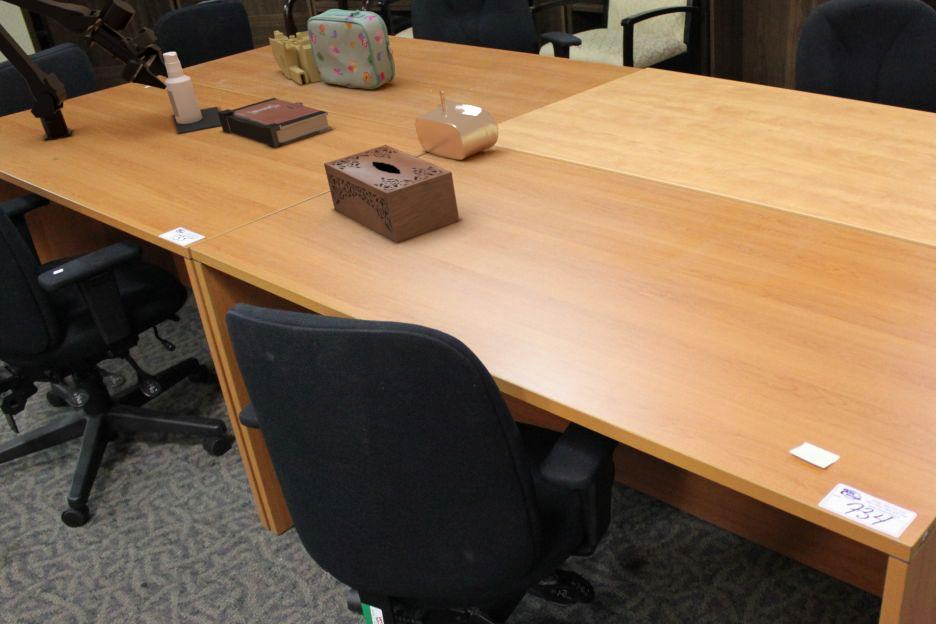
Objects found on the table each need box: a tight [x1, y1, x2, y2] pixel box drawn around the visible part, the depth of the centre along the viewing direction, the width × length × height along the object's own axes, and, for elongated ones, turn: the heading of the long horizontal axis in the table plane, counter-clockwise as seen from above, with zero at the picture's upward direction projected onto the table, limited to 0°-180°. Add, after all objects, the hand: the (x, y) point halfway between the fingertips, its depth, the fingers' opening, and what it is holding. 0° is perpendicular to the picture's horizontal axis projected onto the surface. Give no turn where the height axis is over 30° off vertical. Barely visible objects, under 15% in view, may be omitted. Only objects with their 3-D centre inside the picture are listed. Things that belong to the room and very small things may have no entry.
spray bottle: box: [162, 51, 202, 124], centre depth 262 cm, size 7×7×18 cm
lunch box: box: [307, 8, 396, 90], centre depth 282 cm, size 27×10×21 cm, turn 58°
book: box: [218, 97, 332, 149], centre depth 253 cm, size 26×18×5 cm
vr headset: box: [414, 90, 500, 161], centre depth 226 cm, size 18×11×14 cm, turn 49°
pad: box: [172, 106, 222, 135], centre depth 268 cm, size 20×12×1 cm, turn 24°
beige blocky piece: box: [268, 30, 324, 86], centre depth 301 cm, size 24×16×20 cm
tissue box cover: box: [323, 144, 460, 244], centre depth 196 cm, size 26×14×10 cm, turn 40°
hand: (170, 83), depth 261 cm, fingers open, 9 cm apart
